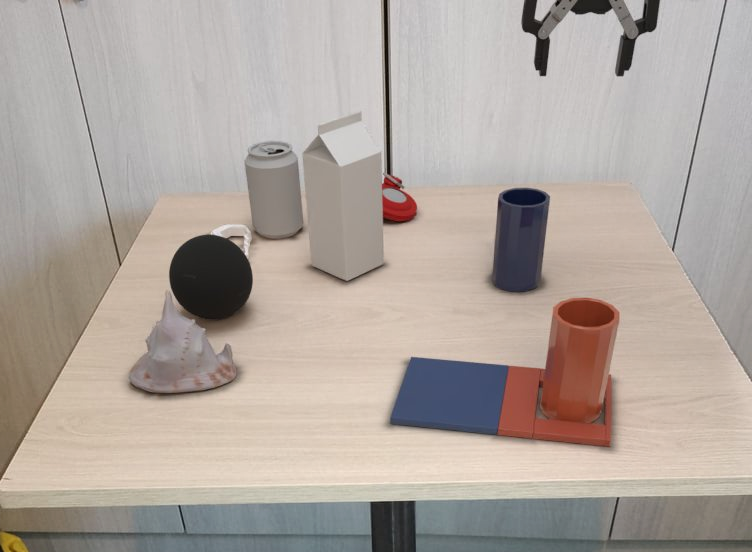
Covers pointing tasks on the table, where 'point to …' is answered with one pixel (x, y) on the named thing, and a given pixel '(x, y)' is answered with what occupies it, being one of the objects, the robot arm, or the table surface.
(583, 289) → the table surface
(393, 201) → the tracker holder
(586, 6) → the robot arm
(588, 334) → the red cup
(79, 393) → the table surface
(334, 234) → the milk carton
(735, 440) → the table surface
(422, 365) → the sorting board
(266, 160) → the can
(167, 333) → the seashell
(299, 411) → the table surface
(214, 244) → the speaker
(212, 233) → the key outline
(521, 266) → the blue cup
